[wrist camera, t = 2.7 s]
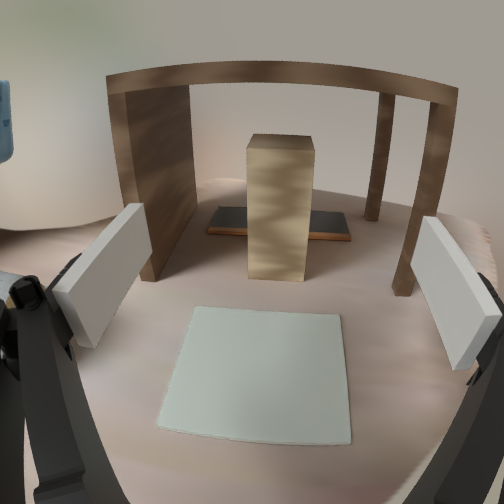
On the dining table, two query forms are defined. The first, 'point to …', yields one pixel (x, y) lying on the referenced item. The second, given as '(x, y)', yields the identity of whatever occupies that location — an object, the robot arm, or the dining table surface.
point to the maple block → (279, 205)
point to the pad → (260, 378)
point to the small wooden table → (235, 218)
